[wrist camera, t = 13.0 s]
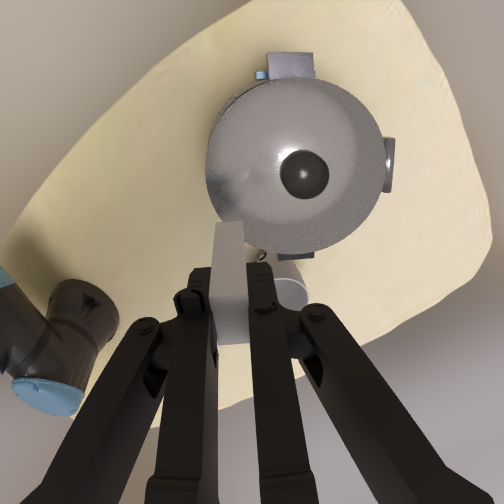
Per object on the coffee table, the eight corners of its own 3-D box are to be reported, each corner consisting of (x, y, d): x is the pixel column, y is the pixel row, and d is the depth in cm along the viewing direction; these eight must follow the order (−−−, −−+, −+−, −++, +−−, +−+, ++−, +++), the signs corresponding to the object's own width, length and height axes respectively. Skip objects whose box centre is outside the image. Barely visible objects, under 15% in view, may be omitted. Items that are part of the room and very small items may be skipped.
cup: (255, 234, 47) (260, 272, 39) (304, 246, 49) (318, 284, 40) (241, 276, 51) (242, 318, 43) (287, 286, 53) (296, 327, 44)
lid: (217, 252, 34) (217, 271, 31) (196, 84, 25) (193, 84, 22) (381, 234, 35) (395, 250, 32) (392, 83, 26) (411, 85, 23)
